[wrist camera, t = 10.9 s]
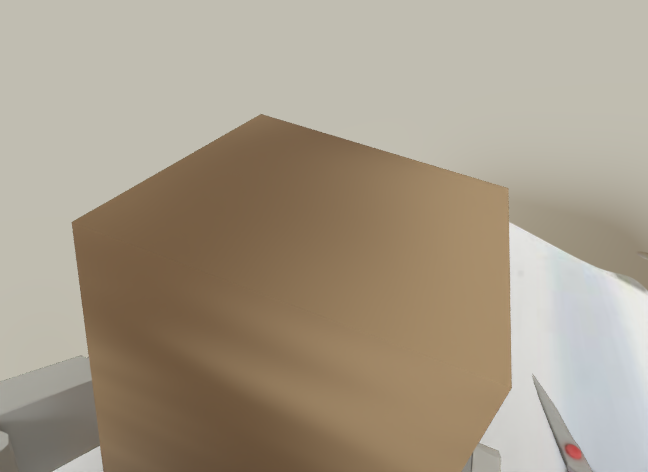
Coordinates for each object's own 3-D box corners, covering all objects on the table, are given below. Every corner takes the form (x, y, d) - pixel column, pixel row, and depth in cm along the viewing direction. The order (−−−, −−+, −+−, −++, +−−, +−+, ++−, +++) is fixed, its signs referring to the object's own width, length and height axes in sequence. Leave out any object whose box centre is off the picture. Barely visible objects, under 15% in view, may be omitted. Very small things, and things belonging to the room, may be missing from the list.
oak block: (353, 539, 14) (508, 188, 8) (298, 741, 10) (512, 387, 4) (220, 477, 15) (260, 114, 9) (125, 644, 11) (71, 222, 5)
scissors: (527, 356, 41) (534, 344, 40) (754, 662, 24) (773, 652, 24) (451, 360, 39) (456, 347, 38) (641, 698, 22) (658, 689, 22)
